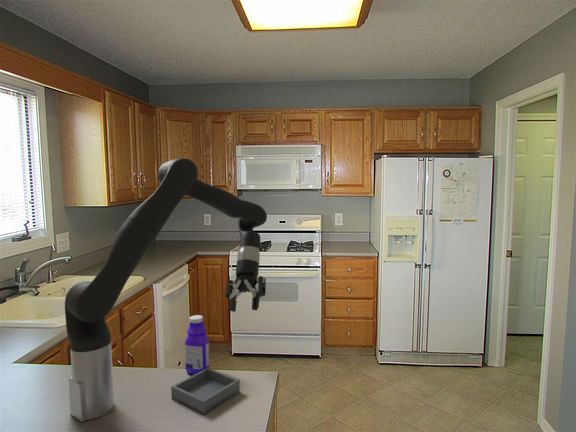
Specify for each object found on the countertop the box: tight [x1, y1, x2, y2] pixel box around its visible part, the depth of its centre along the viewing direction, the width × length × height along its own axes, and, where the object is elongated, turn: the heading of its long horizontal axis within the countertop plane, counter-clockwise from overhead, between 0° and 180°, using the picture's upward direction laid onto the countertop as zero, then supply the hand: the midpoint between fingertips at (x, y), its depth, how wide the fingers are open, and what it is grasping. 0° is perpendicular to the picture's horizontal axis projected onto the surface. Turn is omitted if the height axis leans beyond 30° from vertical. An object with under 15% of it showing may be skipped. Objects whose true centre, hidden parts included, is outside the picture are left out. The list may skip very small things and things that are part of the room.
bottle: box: [184, 314, 210, 375], centre depth 115 cm, size 7×6×17 cm
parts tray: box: [170, 367, 241, 416], centre depth 101 cm, size 13×13×4 cm
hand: (243, 310), depth 117 cm, fingers open, 8 cm apart
